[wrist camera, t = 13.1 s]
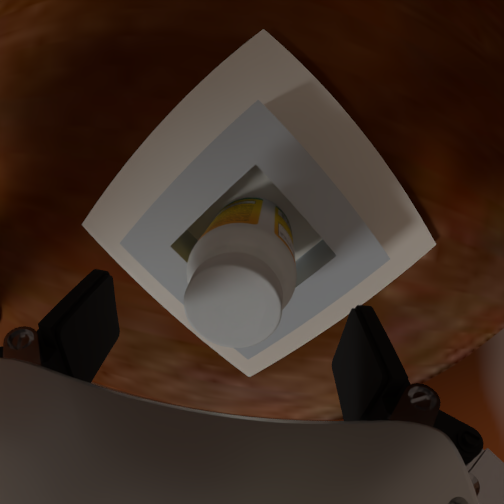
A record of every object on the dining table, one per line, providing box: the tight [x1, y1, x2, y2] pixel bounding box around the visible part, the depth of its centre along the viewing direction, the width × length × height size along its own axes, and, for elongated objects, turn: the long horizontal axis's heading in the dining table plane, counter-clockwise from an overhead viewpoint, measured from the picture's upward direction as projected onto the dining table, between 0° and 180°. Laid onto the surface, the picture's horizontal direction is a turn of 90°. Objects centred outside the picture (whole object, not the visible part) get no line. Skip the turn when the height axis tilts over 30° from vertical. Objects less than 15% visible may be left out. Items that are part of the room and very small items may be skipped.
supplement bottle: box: [184, 197, 297, 348], centre depth 16 cm, size 5×5×10 cm
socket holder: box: [82, 29, 436, 377], centre depth 19 cm, size 20×20×4 cm
